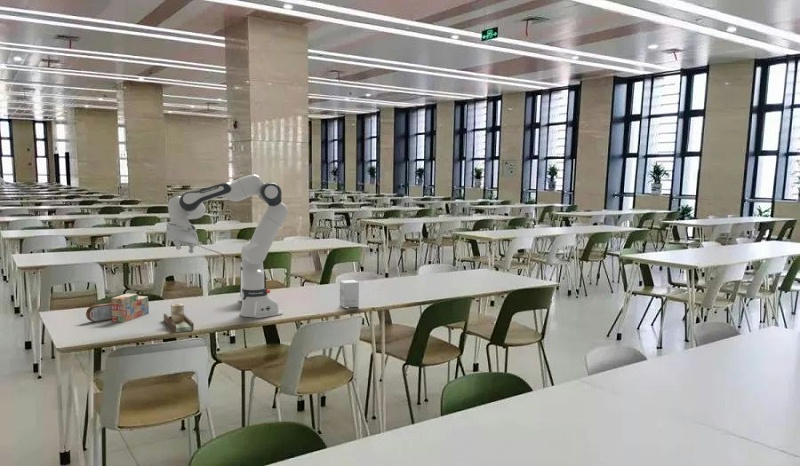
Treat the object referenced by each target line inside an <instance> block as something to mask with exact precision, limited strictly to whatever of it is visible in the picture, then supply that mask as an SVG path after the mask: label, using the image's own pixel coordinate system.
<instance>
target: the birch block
mask: <svg viewBox="0 0 800 466" xmlns="http://www.w3.org/2000/svg"><path fill="white" fill-rule="evenodd" d="M184 314H185V306H184V304H183V303H181V302H180V303H171V304H170V316H171V320H172V321H173V322H181V321H184Z"/></svg>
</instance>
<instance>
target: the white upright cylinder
mask: <svg viewBox="0 0 800 466" xmlns="http://www.w3.org/2000/svg"><path fill="white" fill-rule="evenodd" d="M239 262H240V272H239V273H240V276H239V277H240V279H239V281H240V289H239V291H240V293H239V294H240V295H239V298H240V299H241V300H240V299H238V300H237V301H238V302H239V301H240V302H242V300H243V299H242V288H243V269H242V257H240V259H239ZM266 281H267V277H266V271H265V270H264V288H266V289H267V282H266Z"/></svg>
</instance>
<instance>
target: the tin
mask: <svg viewBox="0 0 800 466" xmlns="http://www.w3.org/2000/svg"><path fill="white" fill-rule="evenodd" d="M111 304H112V302H107V303H100V304H99V303H98V304H92V305H90V306H89V307H88V308H87V310H86V312H85V316H86V319H87V320H88V321H90V322H93V323H97V322H102V321H109V320H110V321H112V307H111Z"/></svg>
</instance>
